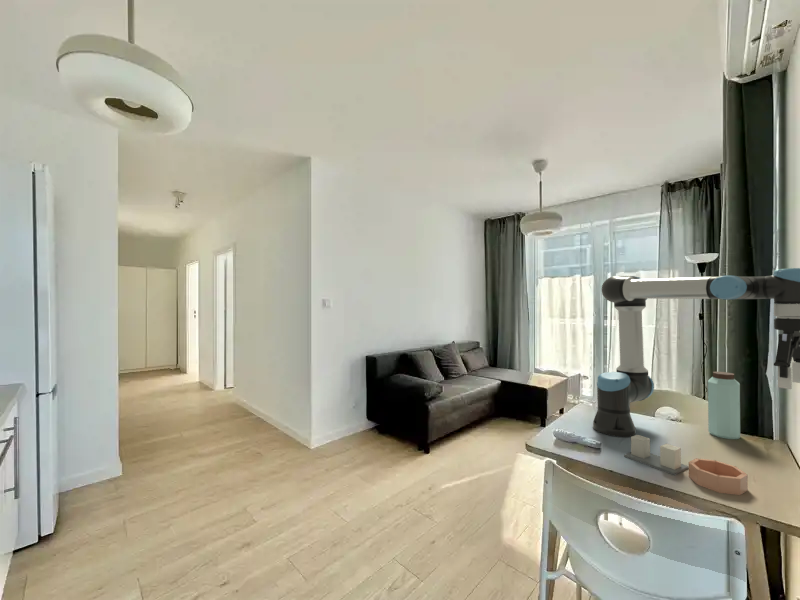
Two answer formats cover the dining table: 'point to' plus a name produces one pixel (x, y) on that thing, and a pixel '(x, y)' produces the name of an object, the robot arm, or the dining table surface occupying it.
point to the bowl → (718, 476)
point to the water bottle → (724, 406)
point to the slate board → (656, 463)
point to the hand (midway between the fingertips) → (792, 385)
